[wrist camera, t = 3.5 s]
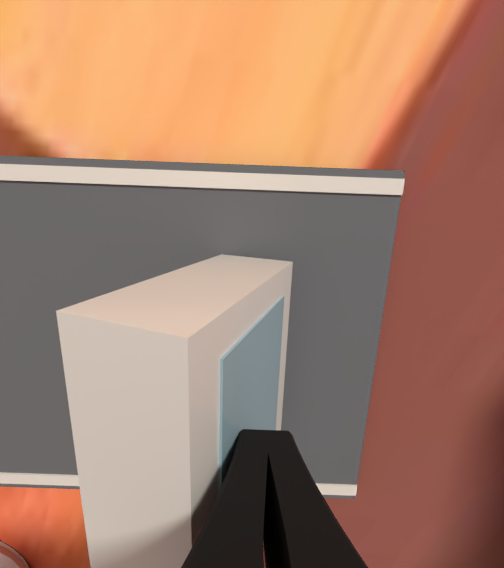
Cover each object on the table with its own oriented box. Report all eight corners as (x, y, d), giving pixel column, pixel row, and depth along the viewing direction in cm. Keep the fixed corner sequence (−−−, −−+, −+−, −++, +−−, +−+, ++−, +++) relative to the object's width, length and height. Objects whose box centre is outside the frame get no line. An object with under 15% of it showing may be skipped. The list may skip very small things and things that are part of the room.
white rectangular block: (294, 261, 12) (191, 338, 5) (280, 456, 14) (196, 682, 8) (221, 254, 13) (56, 310, 6) (219, 436, 15) (97, 622, 9)
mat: (399, 171, 13) (406, 170, 12) (351, 490, 17) (355, 500, 16) (-104, 153, 13) (-121, 150, 12) (-26, 476, 17) (-36, 486, 16)
